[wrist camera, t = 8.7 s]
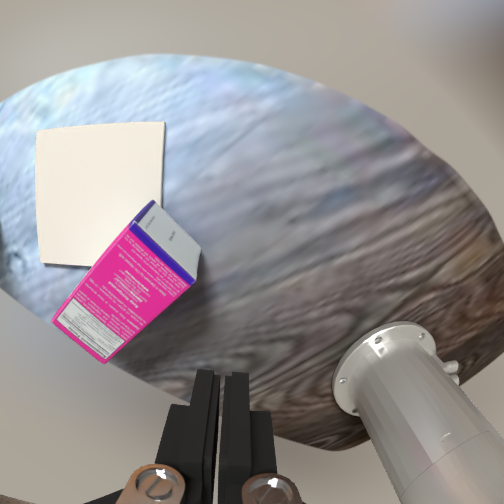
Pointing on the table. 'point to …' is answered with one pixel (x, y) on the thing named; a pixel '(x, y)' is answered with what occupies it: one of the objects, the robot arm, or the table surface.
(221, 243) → the table surface
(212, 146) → the table surface
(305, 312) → the table surface
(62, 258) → the mat
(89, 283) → the supplement box
